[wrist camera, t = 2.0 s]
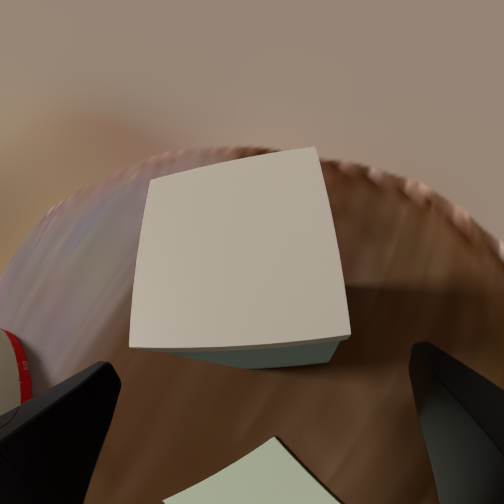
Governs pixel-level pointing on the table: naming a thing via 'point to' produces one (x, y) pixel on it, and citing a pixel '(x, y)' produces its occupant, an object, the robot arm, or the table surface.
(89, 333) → the table surface
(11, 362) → the kitchen timer
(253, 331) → the tea tin
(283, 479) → the plate
